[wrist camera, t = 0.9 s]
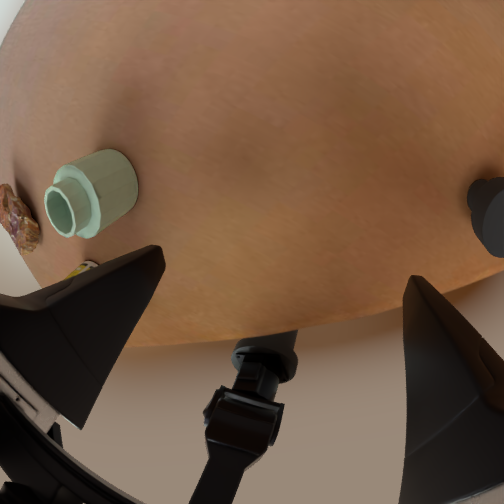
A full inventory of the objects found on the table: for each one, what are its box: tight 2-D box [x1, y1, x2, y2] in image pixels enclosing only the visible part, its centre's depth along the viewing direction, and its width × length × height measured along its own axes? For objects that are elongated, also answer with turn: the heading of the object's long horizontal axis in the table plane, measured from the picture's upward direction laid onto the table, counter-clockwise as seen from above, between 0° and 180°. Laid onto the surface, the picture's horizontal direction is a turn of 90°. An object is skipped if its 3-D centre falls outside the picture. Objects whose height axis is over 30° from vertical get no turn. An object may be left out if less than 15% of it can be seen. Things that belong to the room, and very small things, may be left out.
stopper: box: [467, 177, 504, 258], centre depth 13 cm, size 5×5×5 cm
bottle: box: [44, 149, 138, 239], centre depth 21 cm, size 7×7×8 cm
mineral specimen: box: [0, 184, 39, 256], centre depth 31 cm, size 12×8×7 cm
